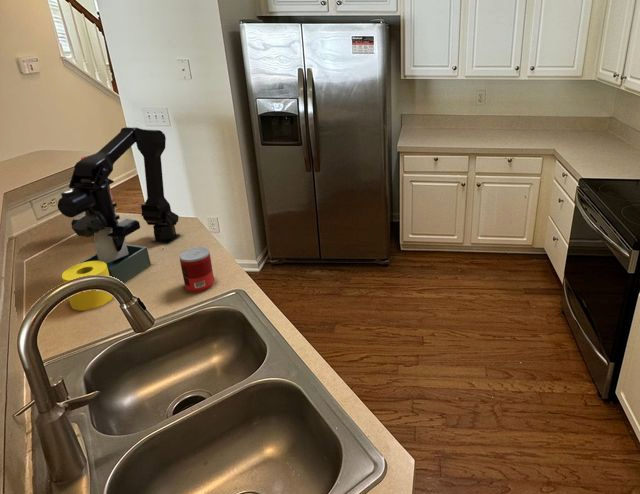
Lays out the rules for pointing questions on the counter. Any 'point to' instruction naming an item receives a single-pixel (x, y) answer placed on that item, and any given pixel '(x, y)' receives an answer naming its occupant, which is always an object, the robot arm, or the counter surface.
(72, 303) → the tape roll
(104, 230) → the light grey rectangular block
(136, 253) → the bin
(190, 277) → the canned food
